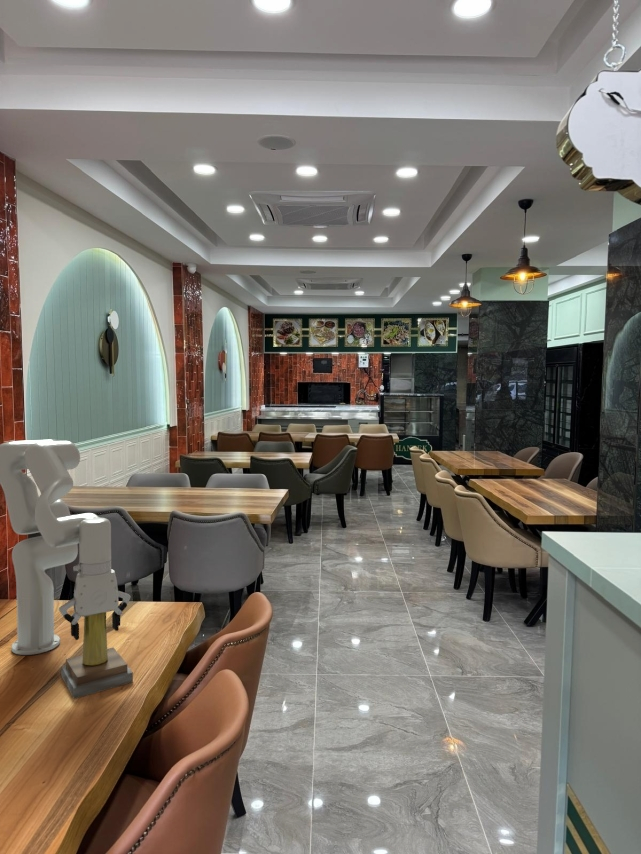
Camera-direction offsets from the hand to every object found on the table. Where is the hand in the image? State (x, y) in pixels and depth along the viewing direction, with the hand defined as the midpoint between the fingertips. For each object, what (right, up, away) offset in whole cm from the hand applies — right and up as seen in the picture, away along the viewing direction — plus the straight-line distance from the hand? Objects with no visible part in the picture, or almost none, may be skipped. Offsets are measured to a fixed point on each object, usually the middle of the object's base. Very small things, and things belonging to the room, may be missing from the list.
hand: (96, 633), depth 144 cm
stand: (0, -12, +1) cm, 12 cm away
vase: (0, -7, 0) cm, 7 cm away
